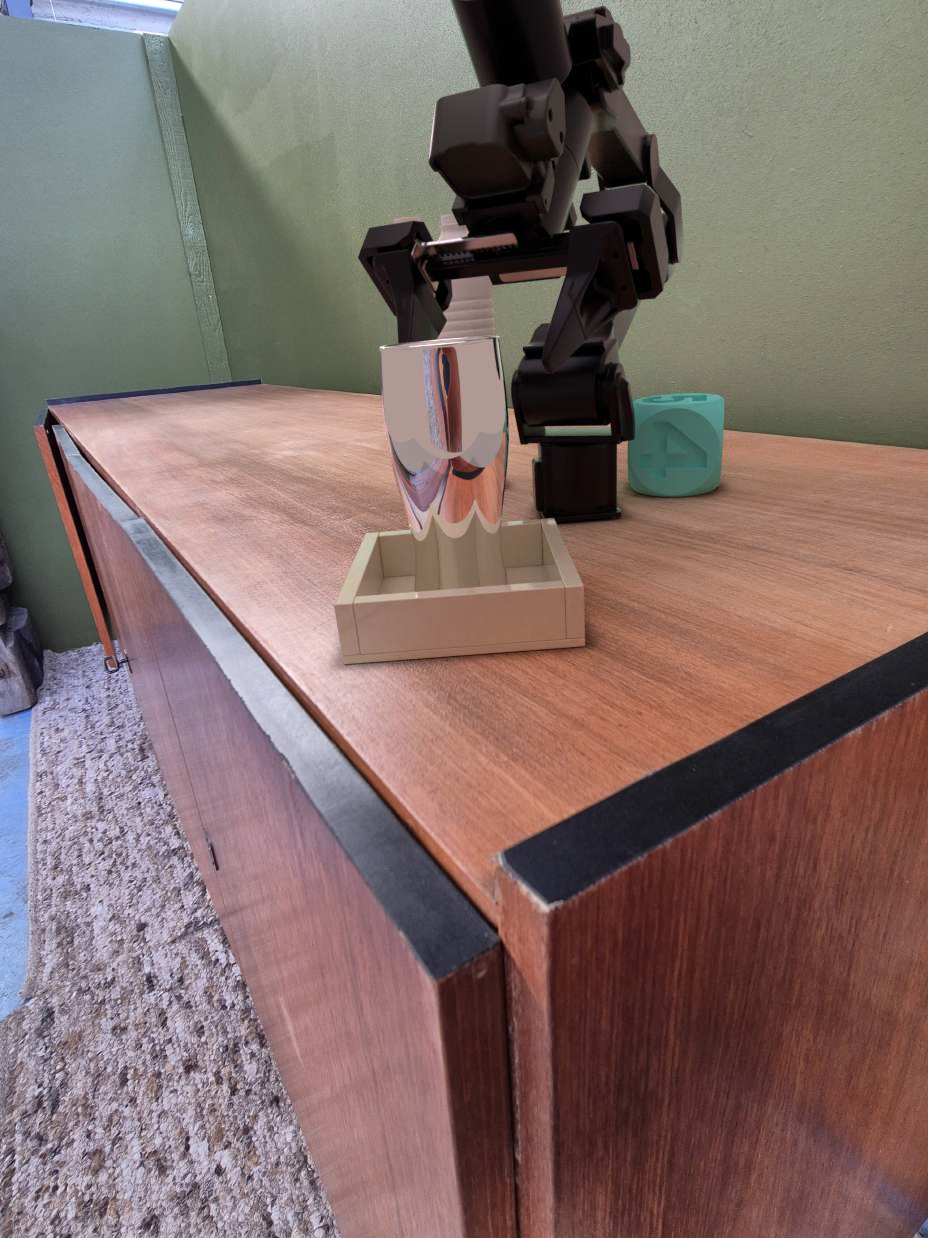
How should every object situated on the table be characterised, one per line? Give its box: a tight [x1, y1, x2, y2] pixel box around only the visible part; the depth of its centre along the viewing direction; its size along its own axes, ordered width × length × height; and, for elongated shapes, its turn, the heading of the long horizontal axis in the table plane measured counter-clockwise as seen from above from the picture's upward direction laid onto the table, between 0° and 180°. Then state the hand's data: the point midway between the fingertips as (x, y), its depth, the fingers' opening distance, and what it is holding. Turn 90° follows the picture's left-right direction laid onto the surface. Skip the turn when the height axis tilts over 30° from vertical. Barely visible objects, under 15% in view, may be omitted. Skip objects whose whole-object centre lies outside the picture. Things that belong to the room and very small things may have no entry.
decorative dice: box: [627, 392, 725, 498], centre depth 66 cm, size 8×8×8 cm
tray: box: [333, 518, 586, 665], centre depth 43 cm, size 13×13×4 cm
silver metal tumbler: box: [378, 335, 510, 592], centre depth 41 cm, size 7×7×15 cm
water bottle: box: [393, 213, 497, 339], centre depth 69 cm, size 9×6×25 cm
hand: (472, 371), depth 42 cm, fingers open, 9 cm apart
